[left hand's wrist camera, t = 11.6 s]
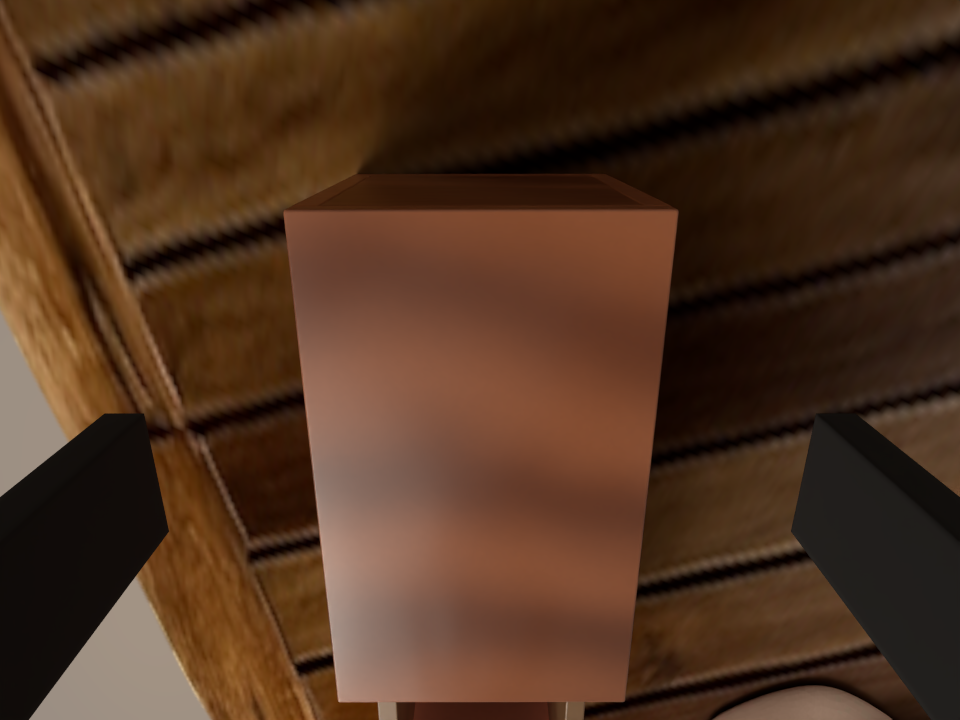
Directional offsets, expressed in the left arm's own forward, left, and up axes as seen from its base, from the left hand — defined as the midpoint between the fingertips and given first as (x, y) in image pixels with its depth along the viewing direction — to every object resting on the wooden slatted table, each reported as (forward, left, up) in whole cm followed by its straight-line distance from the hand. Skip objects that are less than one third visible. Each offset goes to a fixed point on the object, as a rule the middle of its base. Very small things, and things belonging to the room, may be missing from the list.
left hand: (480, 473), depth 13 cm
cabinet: (+2, +5, -18) cm, 19 cm away
